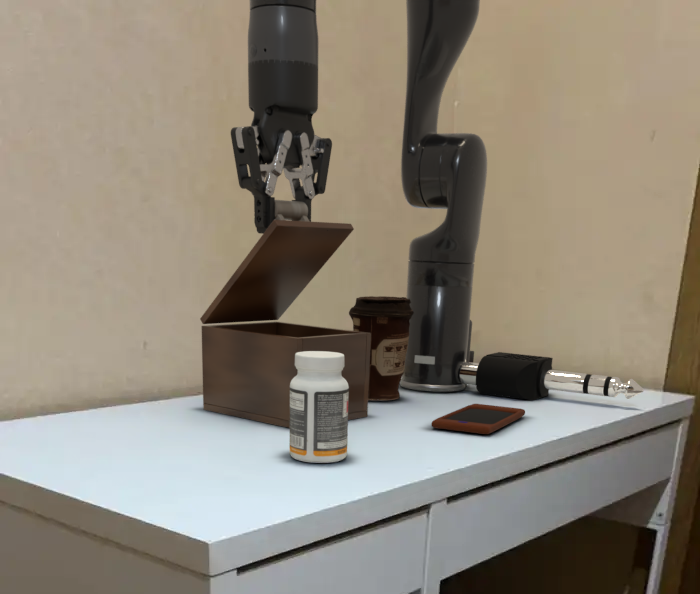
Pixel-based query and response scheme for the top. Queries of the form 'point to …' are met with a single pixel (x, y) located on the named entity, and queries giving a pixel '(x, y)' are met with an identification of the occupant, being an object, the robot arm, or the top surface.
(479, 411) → the smartphone
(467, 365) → the audio adapter
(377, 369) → the coffee cup
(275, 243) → the lid
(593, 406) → the top surface
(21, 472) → the top surface
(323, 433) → the pill bottle
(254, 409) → the walnut box
